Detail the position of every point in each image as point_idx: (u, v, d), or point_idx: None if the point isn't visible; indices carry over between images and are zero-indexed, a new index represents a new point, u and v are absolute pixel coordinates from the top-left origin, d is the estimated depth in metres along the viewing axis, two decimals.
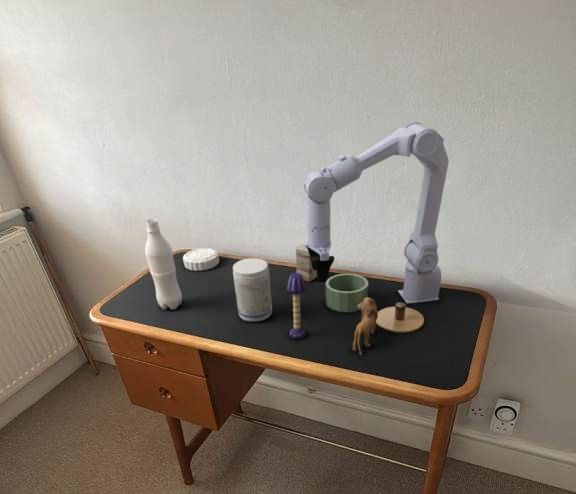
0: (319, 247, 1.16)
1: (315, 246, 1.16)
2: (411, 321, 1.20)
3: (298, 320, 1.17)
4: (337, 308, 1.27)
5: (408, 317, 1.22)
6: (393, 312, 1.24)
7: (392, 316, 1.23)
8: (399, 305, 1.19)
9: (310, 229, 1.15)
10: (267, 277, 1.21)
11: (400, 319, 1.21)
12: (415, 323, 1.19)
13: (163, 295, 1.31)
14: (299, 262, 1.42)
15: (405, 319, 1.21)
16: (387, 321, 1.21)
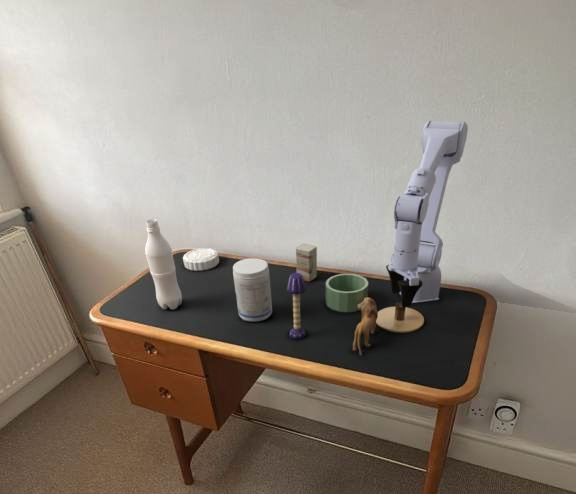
0: (406, 271, 1.10)
1: (402, 270, 1.11)
2: (411, 321, 1.20)
3: (298, 320, 1.17)
4: (337, 308, 1.27)
5: (408, 317, 1.22)
6: (393, 312, 1.24)
7: (392, 316, 1.23)
8: (399, 305, 1.19)
9: (398, 252, 1.09)
10: (267, 277, 1.21)
11: (400, 319, 1.21)
12: (415, 323, 1.19)
13: (163, 295, 1.31)
14: (299, 262, 1.42)
15: (405, 319, 1.21)
16: (387, 321, 1.21)
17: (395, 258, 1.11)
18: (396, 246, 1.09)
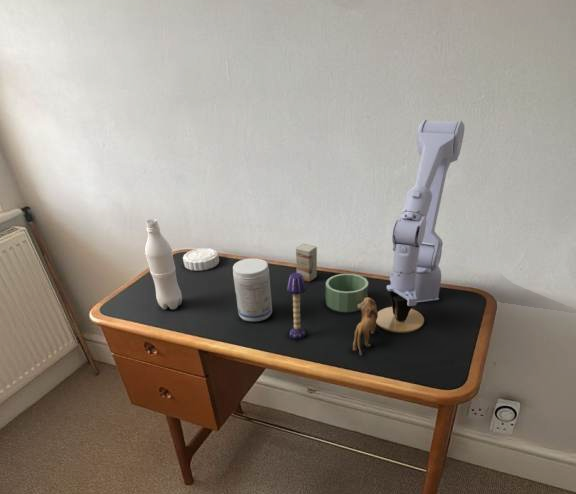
0: (404, 291, 1.14)
1: (400, 290, 1.14)
2: (411, 321, 1.20)
3: (298, 320, 1.17)
4: (337, 308, 1.27)
5: (408, 317, 1.22)
6: None
7: (392, 316, 1.23)
8: None
9: (396, 273, 1.12)
10: (267, 277, 1.21)
11: None
12: (415, 323, 1.19)
13: (163, 295, 1.31)
14: (299, 262, 1.42)
15: None
16: (387, 321, 1.21)
17: (393, 279, 1.14)
18: (394, 267, 1.12)
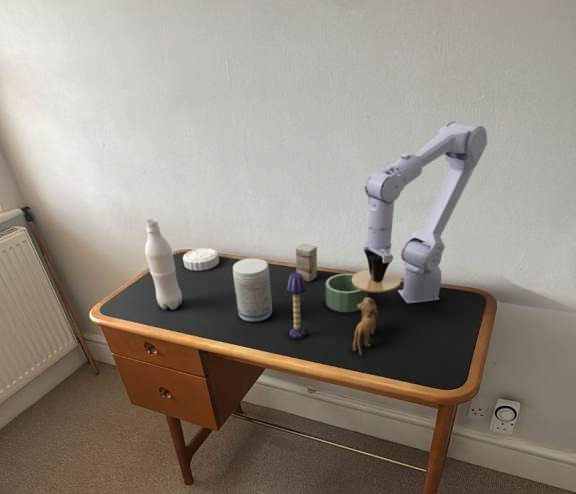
0: (380, 249, 1.12)
1: (376, 248, 1.12)
2: (388, 282, 1.19)
3: (298, 320, 1.17)
4: (337, 308, 1.27)
5: (385, 278, 1.20)
6: None
7: (369, 277, 1.21)
8: None
9: (372, 230, 1.11)
10: (267, 277, 1.21)
11: None
12: (392, 283, 1.18)
13: (163, 295, 1.31)
14: (299, 262, 1.42)
15: (382, 280, 1.20)
16: (364, 282, 1.19)
17: (369, 236, 1.12)
18: (368, 222, 1.12)
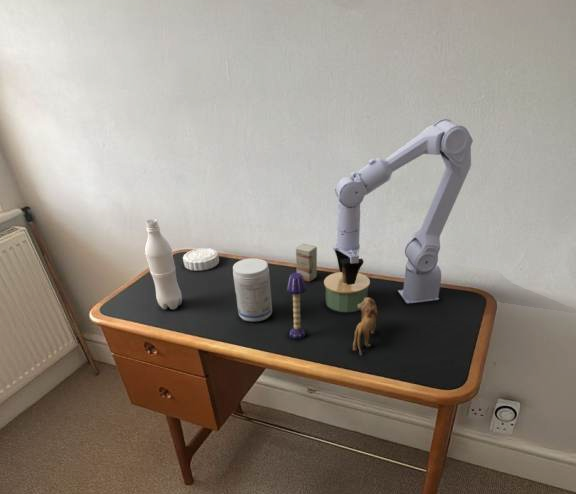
0: (348, 250, 1.19)
1: (344, 249, 1.19)
2: (357, 283, 1.26)
3: (298, 320, 1.17)
4: (337, 308, 1.27)
5: None
6: (342, 276, 1.30)
7: (340, 279, 1.28)
8: None
9: (340, 232, 1.17)
10: (267, 277, 1.21)
11: None
12: (361, 285, 1.25)
13: (163, 295, 1.31)
14: (299, 262, 1.42)
15: None
16: (335, 284, 1.27)
17: (338, 238, 1.19)
18: None
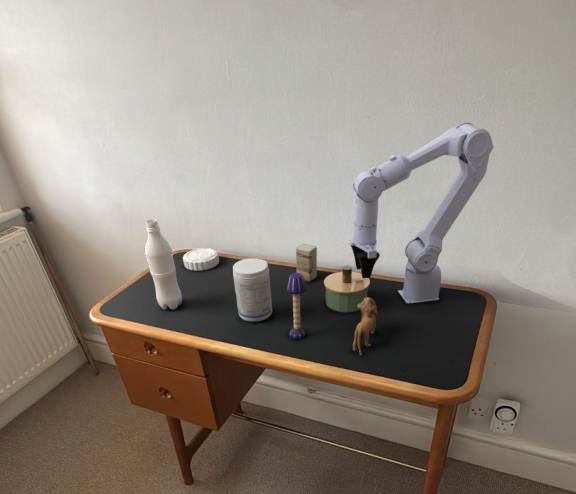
0: (366, 245, 1.19)
1: (362, 244, 1.19)
2: (357, 283, 1.26)
3: (298, 320, 1.17)
4: (337, 308, 1.27)
5: (355, 280, 1.28)
6: (342, 276, 1.30)
7: (340, 279, 1.28)
8: (345, 268, 1.25)
9: (357, 227, 1.17)
10: (267, 277, 1.21)
11: (347, 282, 1.26)
12: (361, 285, 1.25)
13: (163, 295, 1.31)
14: (299, 262, 1.42)
15: (352, 282, 1.27)
16: (335, 284, 1.27)
17: (355, 233, 1.19)
18: None
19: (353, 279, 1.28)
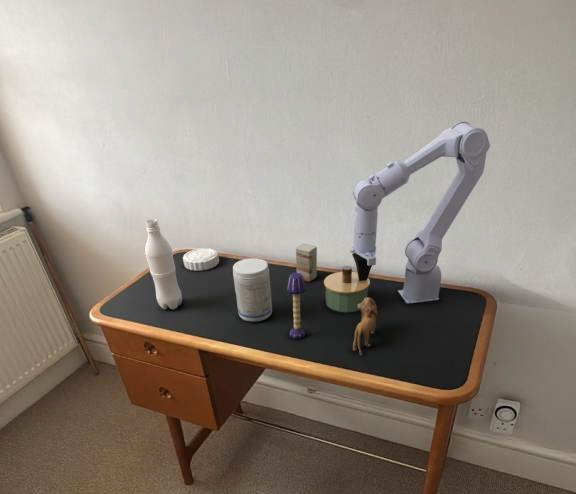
0: (365, 252, 1.20)
1: (361, 251, 1.20)
2: (357, 283, 1.26)
3: (298, 320, 1.17)
4: (337, 308, 1.27)
5: (355, 280, 1.28)
6: (342, 276, 1.30)
7: (340, 279, 1.28)
8: (345, 268, 1.25)
9: (357, 235, 1.18)
10: (267, 277, 1.21)
11: (347, 282, 1.26)
12: (361, 285, 1.25)
13: (163, 295, 1.31)
14: (299, 262, 1.42)
15: (352, 282, 1.27)
16: (335, 284, 1.27)
17: (355, 240, 1.20)
18: None
19: (353, 279, 1.28)
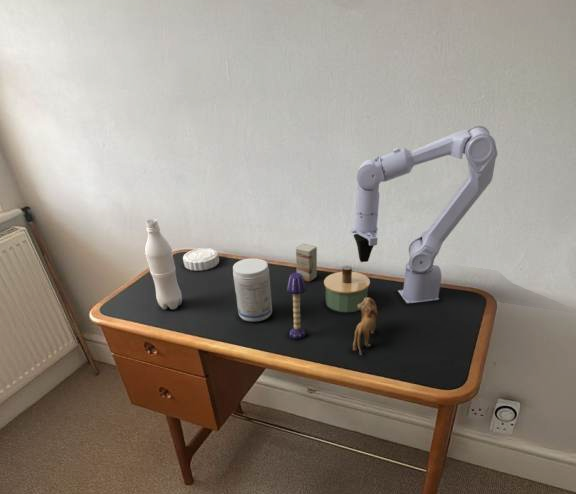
0: (367, 233, 1.21)
1: (363, 232, 1.21)
2: (357, 283, 1.26)
3: (298, 320, 1.17)
4: (337, 308, 1.27)
5: (355, 280, 1.28)
6: (342, 276, 1.30)
7: (340, 279, 1.28)
8: (345, 268, 1.25)
9: (359, 215, 1.19)
10: (267, 277, 1.21)
11: (347, 282, 1.26)
12: (361, 285, 1.25)
13: (163, 295, 1.31)
14: (299, 262, 1.42)
15: (352, 282, 1.27)
16: (335, 284, 1.27)
17: (356, 221, 1.21)
18: None
19: (353, 279, 1.28)
